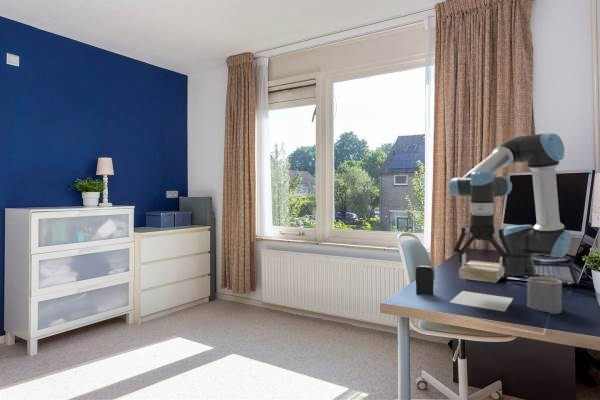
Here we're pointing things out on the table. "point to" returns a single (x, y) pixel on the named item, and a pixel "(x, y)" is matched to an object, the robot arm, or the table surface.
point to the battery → (425, 280)
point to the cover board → (480, 271)
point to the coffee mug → (545, 294)
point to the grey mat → (482, 300)
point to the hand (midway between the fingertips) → (482, 273)
